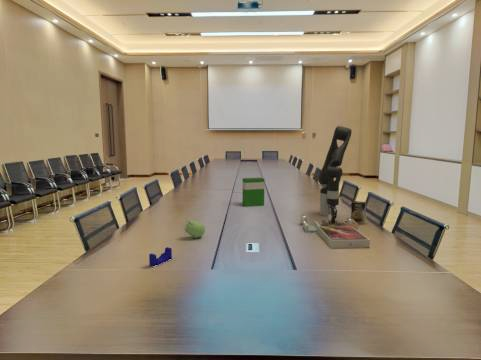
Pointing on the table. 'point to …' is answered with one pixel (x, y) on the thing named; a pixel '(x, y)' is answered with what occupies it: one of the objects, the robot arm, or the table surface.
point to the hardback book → (253, 192)
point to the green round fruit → (195, 229)
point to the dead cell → (349, 220)
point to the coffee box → (358, 212)
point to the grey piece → (325, 223)
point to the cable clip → (162, 258)
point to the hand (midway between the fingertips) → (331, 222)
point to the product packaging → (342, 237)
